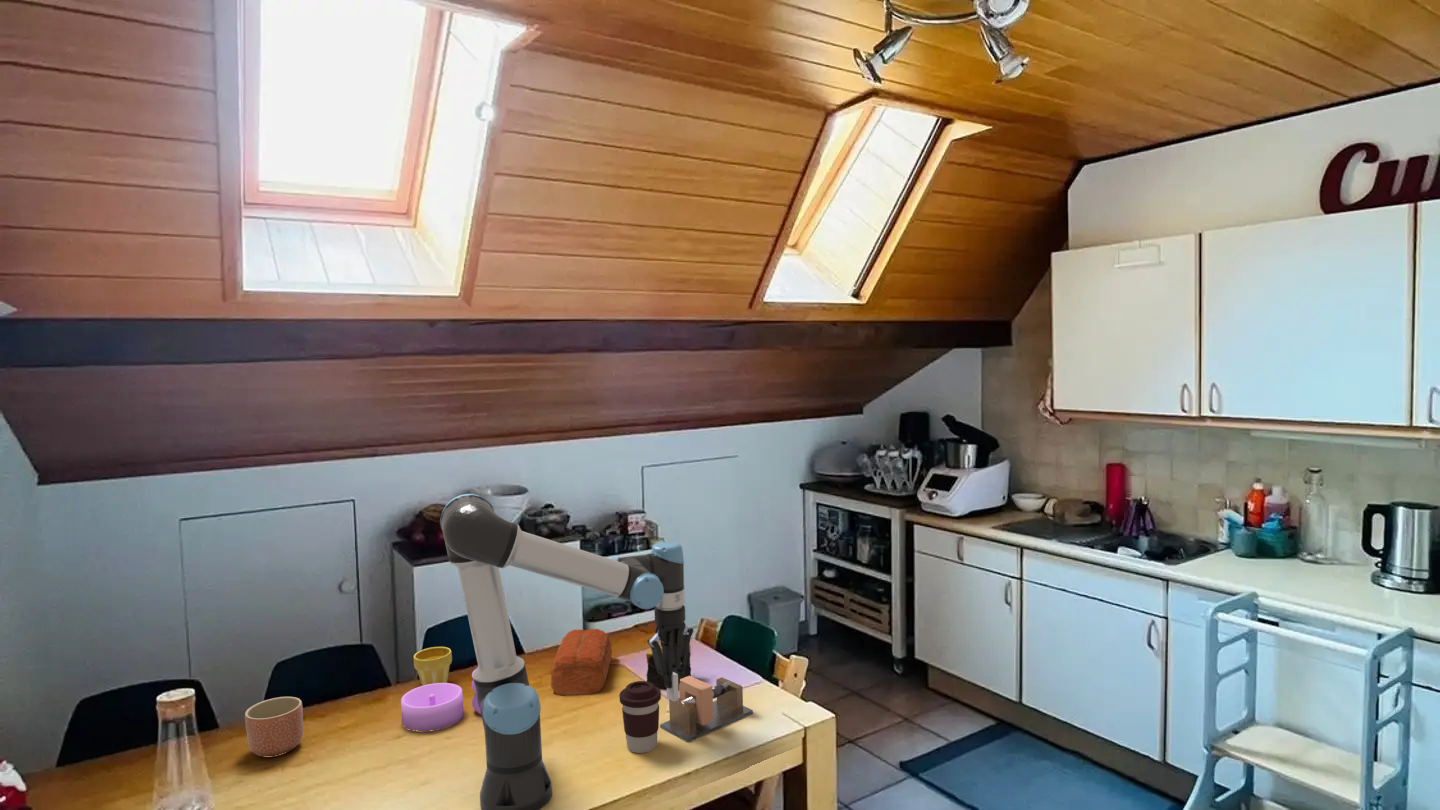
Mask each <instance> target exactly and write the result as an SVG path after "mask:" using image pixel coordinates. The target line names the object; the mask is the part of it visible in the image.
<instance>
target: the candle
mask: <svg viewBox="0 0 1440 810" xmlns="http://www.w3.org/2000/svg"><path fill="white" fill-rule="evenodd" d="M659 642H660V647H661V641H659ZM661 650H662V647H661ZM645 656H646V663H647V670H646V671H647V672H646V681H647V682H650V683H652V684H653V685H654V686H655V687H657V688H659V689H660V690H665V691H667V688H666V687H665V681H664V675H661V674H659V673H657V669H656V665H655V661H654V657H653V654H652V650H651V649H649V651H647V652H646V655H645ZM691 656H692V655H691V644H690V645H689V652H688V658H687V665H686V668H683V669H681V670H682V671H683V672H682V674H680V679H682V678H685V677H687V676H691V677H692V674H691V673H692V667H691ZM678 692H679V685H678Z"/></svg>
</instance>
